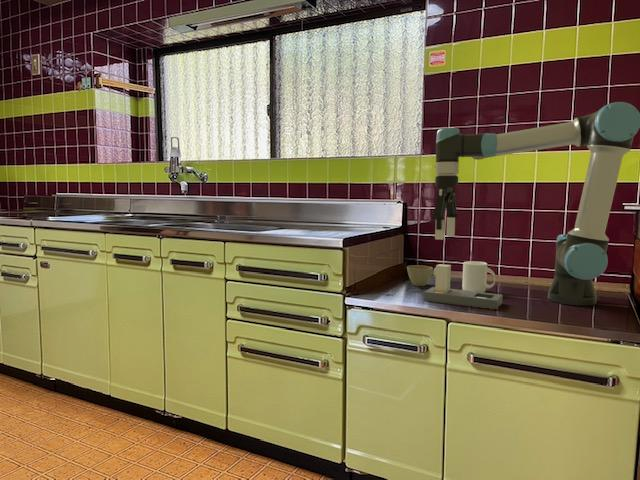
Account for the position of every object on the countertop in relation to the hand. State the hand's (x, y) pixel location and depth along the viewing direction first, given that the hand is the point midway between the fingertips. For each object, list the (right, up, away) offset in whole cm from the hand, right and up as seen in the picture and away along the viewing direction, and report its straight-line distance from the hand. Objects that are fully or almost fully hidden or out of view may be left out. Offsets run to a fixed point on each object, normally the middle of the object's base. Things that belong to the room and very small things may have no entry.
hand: (445, 237), depth 167 cm
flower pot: (-3, -19, +27) cm, 33 cm away
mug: (+17, -20, +16) cm, 31 cm away
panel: (+6, -22, -1) cm, 23 cm away
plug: (0, -22, +3) cm, 22 cm away
